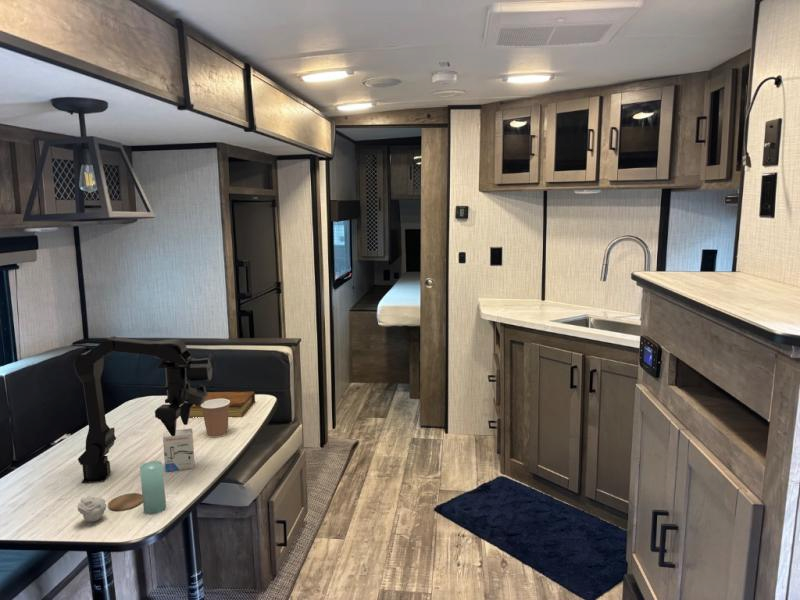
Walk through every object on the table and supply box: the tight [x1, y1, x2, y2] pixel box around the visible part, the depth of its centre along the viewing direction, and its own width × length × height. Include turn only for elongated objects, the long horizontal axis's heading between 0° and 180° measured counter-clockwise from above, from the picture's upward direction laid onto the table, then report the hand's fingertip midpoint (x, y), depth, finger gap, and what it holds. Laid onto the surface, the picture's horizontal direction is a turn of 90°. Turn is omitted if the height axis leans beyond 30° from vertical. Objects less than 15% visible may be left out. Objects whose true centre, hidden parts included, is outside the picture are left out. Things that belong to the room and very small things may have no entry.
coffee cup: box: [201, 399, 230, 438], centre depth 204 cm, size 10×10×12 cm
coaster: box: [107, 492, 143, 512], centre depth 155 cm, size 9×9×1 cm
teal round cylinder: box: [139, 460, 167, 515], centre depth 151 cm, size 6×6×12 cm
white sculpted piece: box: [76, 495, 107, 523], centre depth 146 cm, size 6×7×7 cm
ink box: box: [162, 428, 195, 473], centre depth 177 cm, size 9×5×12 cm, turn 105°
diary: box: [189, 391, 256, 419], centre depth 232 cm, size 23×19×6 cm
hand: (179, 430), depth 171 cm, fingers open, 9 cm apart
